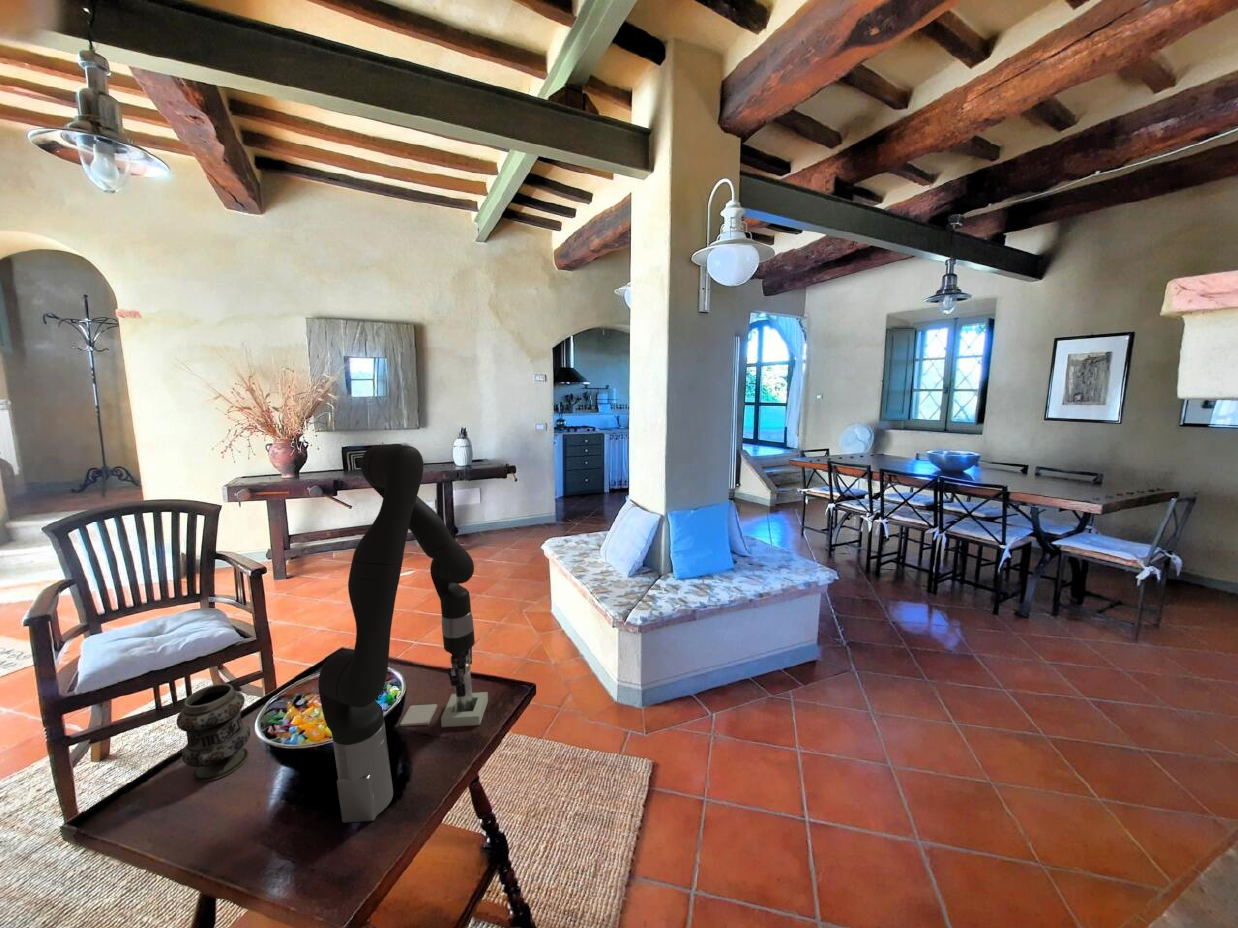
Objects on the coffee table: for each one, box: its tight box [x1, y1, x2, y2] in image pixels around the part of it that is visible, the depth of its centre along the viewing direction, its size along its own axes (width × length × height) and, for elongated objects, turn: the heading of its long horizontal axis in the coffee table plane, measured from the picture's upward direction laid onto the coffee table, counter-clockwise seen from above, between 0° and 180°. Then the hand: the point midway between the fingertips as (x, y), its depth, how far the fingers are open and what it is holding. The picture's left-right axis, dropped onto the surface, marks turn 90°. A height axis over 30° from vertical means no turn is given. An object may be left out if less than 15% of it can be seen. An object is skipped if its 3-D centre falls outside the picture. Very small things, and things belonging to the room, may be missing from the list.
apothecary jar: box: [176, 683, 251, 783], centre depth 109 cm, size 12×12×18 cm
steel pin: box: [454, 661, 474, 712], centre depth 125 cm, size 4×4×14 cm
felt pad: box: [399, 703, 438, 727], centre depth 125 cm, size 7×7×1 cm
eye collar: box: [440, 691, 489, 728], centre depth 126 cm, size 10×10×2 cm
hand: (463, 689), depth 125 cm, fingers closed on steel pin, 4 cm apart
